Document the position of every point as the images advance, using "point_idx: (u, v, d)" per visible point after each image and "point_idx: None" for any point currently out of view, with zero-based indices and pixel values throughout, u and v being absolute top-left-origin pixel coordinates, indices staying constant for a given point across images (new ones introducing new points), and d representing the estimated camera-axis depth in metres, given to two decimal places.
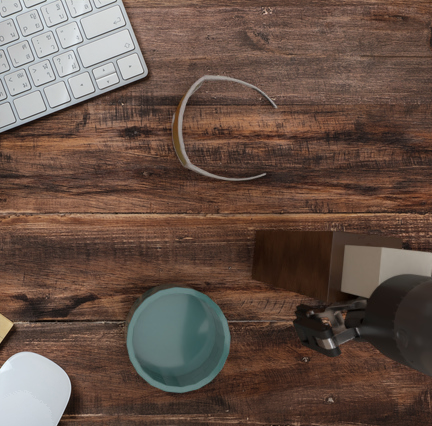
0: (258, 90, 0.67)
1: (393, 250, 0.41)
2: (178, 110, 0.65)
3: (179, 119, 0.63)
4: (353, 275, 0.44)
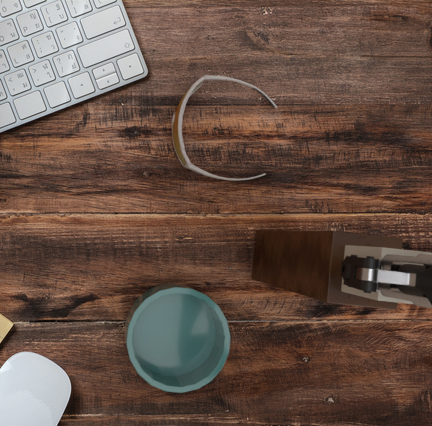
0: (258, 90, 0.67)
1: (393, 250, 0.41)
2: (178, 110, 0.65)
3: (179, 119, 0.63)
4: None
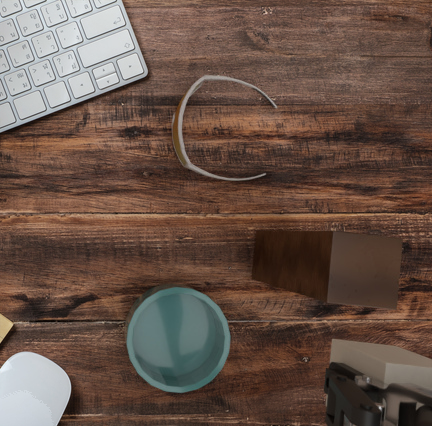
0: (258, 90, 0.67)
1: (403, 367, 0.26)
2: (178, 110, 0.65)
3: (179, 119, 0.63)
4: None
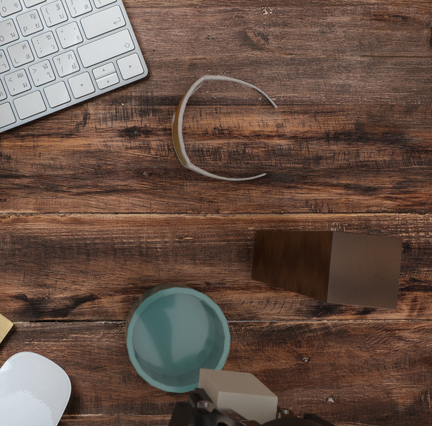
0: (258, 90, 0.67)
1: (231, 395, 0.35)
2: (178, 110, 0.65)
3: (179, 119, 0.63)
4: None
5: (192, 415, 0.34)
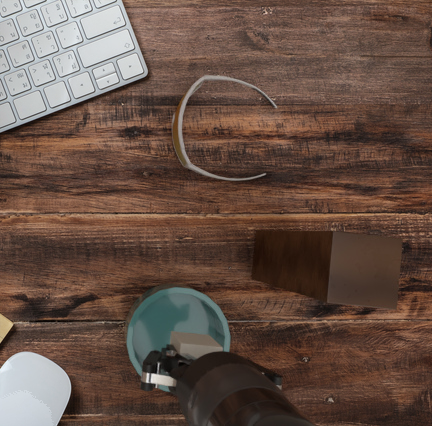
0: (258, 90, 0.67)
1: (190, 345, 0.50)
2: (178, 110, 0.65)
3: (179, 119, 0.63)
4: None
5: (162, 359, 0.49)
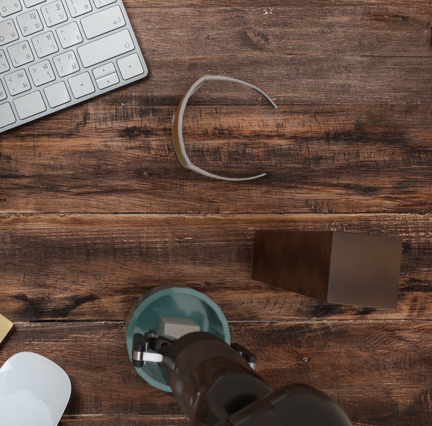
0: (258, 90, 0.67)
1: (173, 325, 0.61)
2: (178, 110, 0.65)
3: (179, 119, 0.63)
4: None
5: None
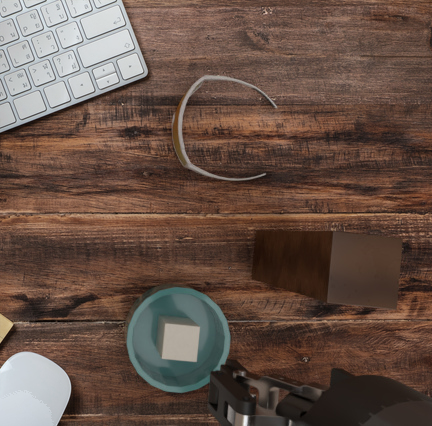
0: (258, 90, 0.67)
1: (173, 325, 0.61)
2: (178, 110, 0.65)
3: (179, 119, 0.63)
4: (158, 338, 0.65)
5: None
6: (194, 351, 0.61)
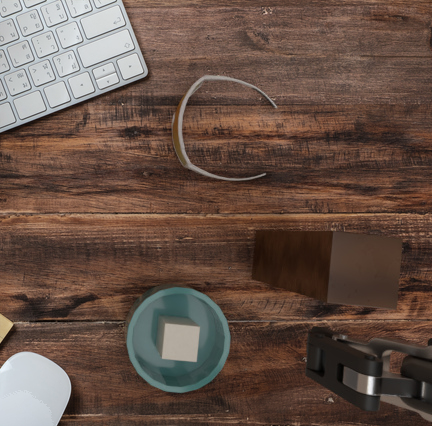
0: (258, 90, 0.67)
1: (173, 325, 0.61)
2: (178, 110, 0.65)
3: (179, 119, 0.63)
4: (158, 338, 0.65)
5: None
6: (194, 351, 0.61)
